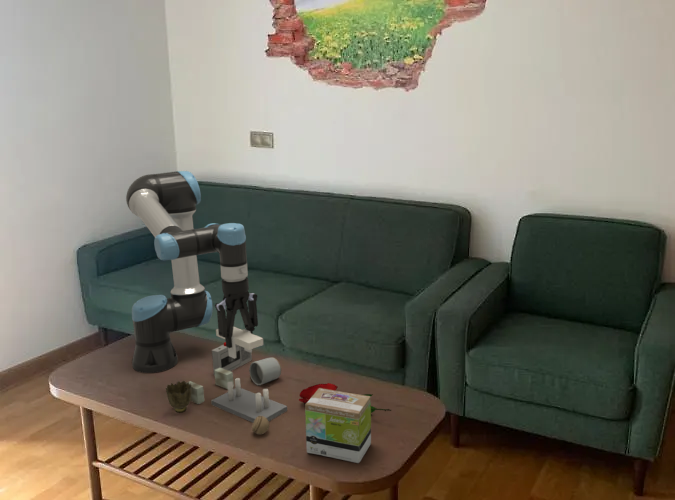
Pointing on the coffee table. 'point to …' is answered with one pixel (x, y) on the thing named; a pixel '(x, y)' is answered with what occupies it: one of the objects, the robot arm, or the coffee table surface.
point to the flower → (311, 390)
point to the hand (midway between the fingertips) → (240, 353)
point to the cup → (179, 396)
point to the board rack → (220, 379)
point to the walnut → (260, 425)
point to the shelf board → (244, 339)
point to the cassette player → (229, 358)
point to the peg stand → (248, 403)
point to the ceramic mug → (265, 370)
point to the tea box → (338, 424)
